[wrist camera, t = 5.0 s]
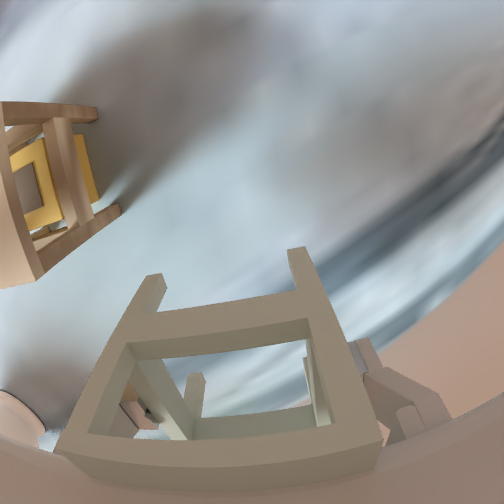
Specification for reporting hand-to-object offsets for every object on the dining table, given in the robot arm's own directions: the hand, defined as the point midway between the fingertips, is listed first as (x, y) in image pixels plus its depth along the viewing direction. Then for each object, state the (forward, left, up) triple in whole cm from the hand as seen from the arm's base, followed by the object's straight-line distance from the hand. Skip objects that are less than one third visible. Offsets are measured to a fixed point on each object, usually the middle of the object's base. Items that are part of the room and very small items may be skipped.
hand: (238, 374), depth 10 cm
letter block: (-8, -9, -8) cm, 14 cm away
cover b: (0, 0, -3) cm, 3 cm away
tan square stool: (-8, -9, -7) cm, 14 cm away
